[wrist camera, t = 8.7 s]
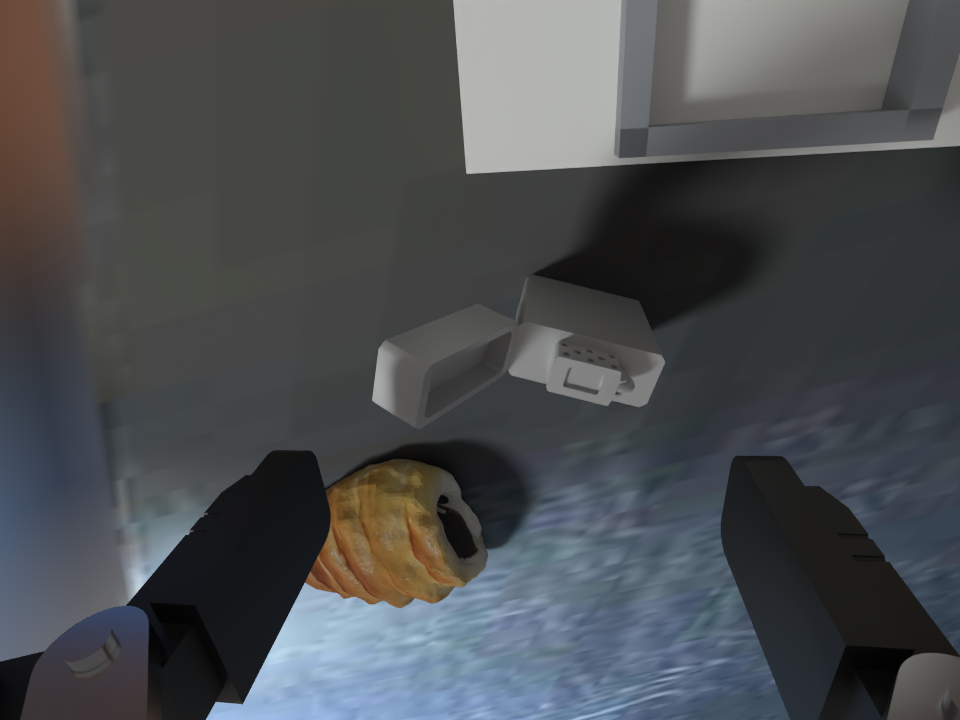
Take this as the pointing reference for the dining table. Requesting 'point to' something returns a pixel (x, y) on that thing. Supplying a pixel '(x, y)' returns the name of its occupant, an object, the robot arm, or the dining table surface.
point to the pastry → (398, 536)
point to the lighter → (522, 352)
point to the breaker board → (702, 79)
